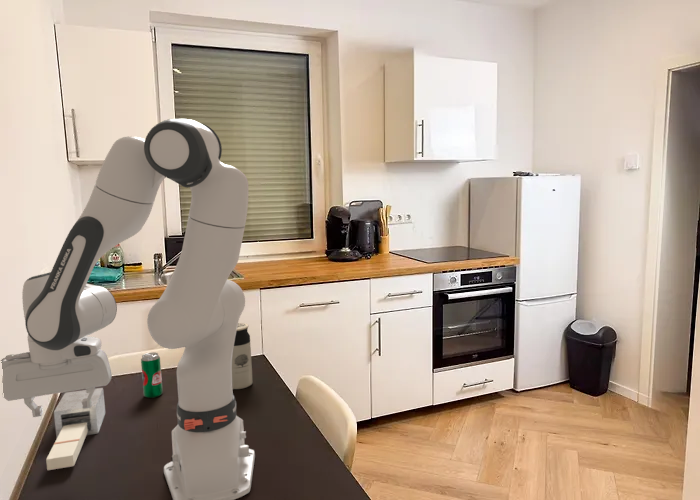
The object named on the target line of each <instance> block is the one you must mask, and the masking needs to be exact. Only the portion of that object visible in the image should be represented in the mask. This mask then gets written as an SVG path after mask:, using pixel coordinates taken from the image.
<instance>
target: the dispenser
mask: <svg viewBox="0 0 700 500" xmlns="http://www.w3.org/2000/svg"><path fill="white" fill-rule="evenodd" d="M89 393H90V392H89ZM89 393H86V389H81V390H75V391H68V392H64V394H63V395H62V397H61V399H60V400H59V402H58V404H57V406H56V407H55V409H54V411H53V417H54V426H55V435H56V438H57V437H58V436H59V434H60V432H61V430H62V428H63V426H66V425H73V424H79V423H86V422H87V430H88V432H87V435H86V436H90V435H95V434H99V432H100V429H101V428H102V423H103V421H104V419H105V415H106V405H105V404H106V403H105V394H104V387H96V388H95V391H94V393H93V395H92V397H91V408H86V409H83V405H82V401H83V399H85V398H87V397H88V395H89Z"/></svg>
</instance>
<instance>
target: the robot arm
mask: <svg viewBox="0 0 700 500" xmlns="http://www.w3.org/2000/svg"><path fill="white" fill-rule="evenodd" d="M217 134H218V133H216V132H215V131H214V130H213V128H211V127H210V126H209V125H206V124H204V123H201V122H198V121H196V120H194V119H187V118H169V119H165V120H162V121H159V122H158V123H157V124H155V125H153V127H152V128H150V130H149V132H148V133H147V135H146V137H145V138H142V137H138V136H123V137H120V138H118V139H117V140H116V141H115V142H113V144H112V146H111V147H110V149H109V151H108V153H106V157H105V158H104V161H103V163H102V165H101V167H100V169H99V172H98V174H97V177H96V180H95V182H94V183H95V184H94V186H93V189H92V192H91V194H90V196H89V199H88V202H87V203H86V205H85V207H84V209H83V211H82V213H81V215H80V216H79V218H78V219H77V221H76V222H75V223H74V225H72V227H71V228H70V230H69V232H68V234H67V236H66V238H65V239H64V242H63V244H62V246H61V249H60V251H59V252H58V255H57V257H56V260H55V262H54V264H53V266H52V269H51V270H50V271H49V272H46V273H43V274H38V275H34V276H31V277H29V278H27V279H26V280H25V281H24V283H23V285H22V286H23V287H22V292H21V293H22V298H21V299H22V310H23V317H24V320H25V321H24V322H25V329H26V332H27V343H28V350H29V351H27V352H22V353H16V354H8V355H6V356H5V357H3V358H1V360H0V361H2V362H1V363H2V369H3V376H2V381H1V384H2V383H3V393H4V397H3V398H4V399H5V400H6V401H8V402H10V401H16V400H17V401H19V400H23V402H24V404H25V405H26V407H27V408H28V409H29V410H31V413H32V418H39V417H42V416H43V414H44V410H43V405H37V403H36V402H35V401H34V400H35V398H36V397H41V396H42V397H43V396H49V395H54V394H60V393H62V394H63V393H66V392H74V391H82V390H86V393H89V392H90V393H89V395H88V397H87V398H85V399H83V401H82V405H83V409H86V408H91V397H92V395H93V393H94V391H95V389H96V388H101V387H105V386H106V387H107V385H108V384H109V383H110V382H111V380H112V376H113V375H112V374H113V373H112V368H111V364H110V361H109V357H108V355H107V353H106V351H104V350H103V349H101V348H102V340H101V338H99V337H96V336H95V337H94V336H90V335H92V334H94V333H96V332H98V331H100V330H102V329H104V328H106V327H108V326H109V325H110V324H112V323H113V322H114V320H115V318H116V316H117V309H118V308H117V307H118V306H117V302H116V299H115V297H114V294H113V293H112V292H111V291H110V290H109V289H107V288H106V287H104V286H102V285H99V284H98V285H97V284H95V285H94V284H90V283H88V281H89V278H90V276H91V275H92V271H93V269H94V268H95V266H96V264H97V263H98V261H99V260H100V259H102V257H103V256H104V255H105V254H106V253H107V252H109V251H110V250H111V249H112V248H114V247H116V246H118V245H119V244H121V243H123V242H125V241H127V240H129V239H130V238H132V237H134V236H135V235H137V234H138V233H139V232H141V230H142V229H143V227H144V225H145V224H146V223H147V221H148V218H149V217H150V214H151V212H152V209H153V207H154V203H155V200H156V197H157V194H158V192H159V188H160V186H161V184H162V183H163V181H164V180H165V179H166V178H167V179H169V180H171V181H173V182H175V183H177V184H178V185H180V186H181V187H183V188H186V189H187V188H189V189H190V192H191V200H190V207H189V212H188V217H187V221H186V228H185V232H184V233H185V234H184V238H183V244H182V248H181V252H180V256H179V258H178V260H177V263H176V266H175V268H174V270H173V271H172V272H173V273H172V275H171V277H170V279H169V281H168V283H167V285H166V287H165V289H164V291H163V292H162V294H161V295H160V298H158V300H157V301H156V302H155V303H154V304H153V305H152V307H151V308H150V310H149V312H148V315H147V321H146V322H147V329H148V332H149V334H150V337H152V339H153V340H154V341H155V342H156V344H158V345H159V346H160V347H162V348H165V349H168V350H177V349H182V348H184V351H183V353H182V356H181V358H180V359H179V362H178V363H177V367H176V371H175V372H176V384H177V397H178V399H177V400H178V402H177V404H176V417H177V418H176V419H177V425H176V426H175V427H174V428H172V430H171V444H172V446H171V447H172V455H171V458H170V460H171V461H170V462H167V463H166V464H165V465H164V466H163V474H164V477H165V480H166V483H167V485H168V488H169V489H168V490H169V492H170V494H171V498H172V500H236V499H239V498H242V497H243V496H245V495H247V494H249V493H250V491H251V487H252V481H253V473H254V467H255V466H254V465H255V458H256V453H255V449H252V448H249V447H250V446H249V445H248V444H245V439H246V438H247V431H246V430H245V429H244V428H245V427H244V420H243V418H241V417H239V416H238V415H237V401H236V397H235V395H234V393H233V390H234V389H233V388H232V354H233V347H234V341H235V336H236V330H237V325H238V323H239V321H240V318H241V315H242V313H244V310H245V308H246V297H245V294H244V291H243V289H242V287H240V285H239V284H238V283H236V282H235V281H234V280H231V279H229V277H230V275H231V274H232V272H233V271H234V269H235V268H236V266H237V265H238V262H239V258H240V253H241V248H242V243H243V239H244V238H243V237H244V233H245V228H246V224H247V223H246V222H247V218H248V216H247V215H248V207H249V180H248V177H247V176H246V174H245V173H244V172H242V171H241V170H240V169H239V168H237V167H235V166H233V165H230V164H225V163H223V162H222V161H221V158H222V153H223V149H222V143H221V140H220V138H219V136H218V135H217ZM3 393H2V394H3ZM244 430H245V431H244Z"/></svg>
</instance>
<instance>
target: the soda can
mask: <svg viewBox="0 0 700 500" xmlns="http://www.w3.org/2000/svg"><path fill="white" fill-rule="evenodd" d="M140 366H141V375H142V376H141V378H142V388H143V396H144V397H145V398H147V399H156V398H158V397H160V396H162V394H163V382H162V381H163V379H162V369H161V368H162V366H161V357H160V354H159V353H158V352H152V351H151V352H147V353H144V354H141V358H140Z"/></svg>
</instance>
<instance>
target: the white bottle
mask: <svg viewBox="0 0 700 500" xmlns="http://www.w3.org/2000/svg"><path fill="white" fill-rule="evenodd" d="M248 328H249V324H248V323H245V322H238V325H237V330H236V336H235V341H234V347H233V354H232V388H233V390H241V389H245V388H249V387H250V386H252V385H253V368H252V349H251V348H252V347H251V346H252V345H251V334H250V333H249V331H248Z"/></svg>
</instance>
